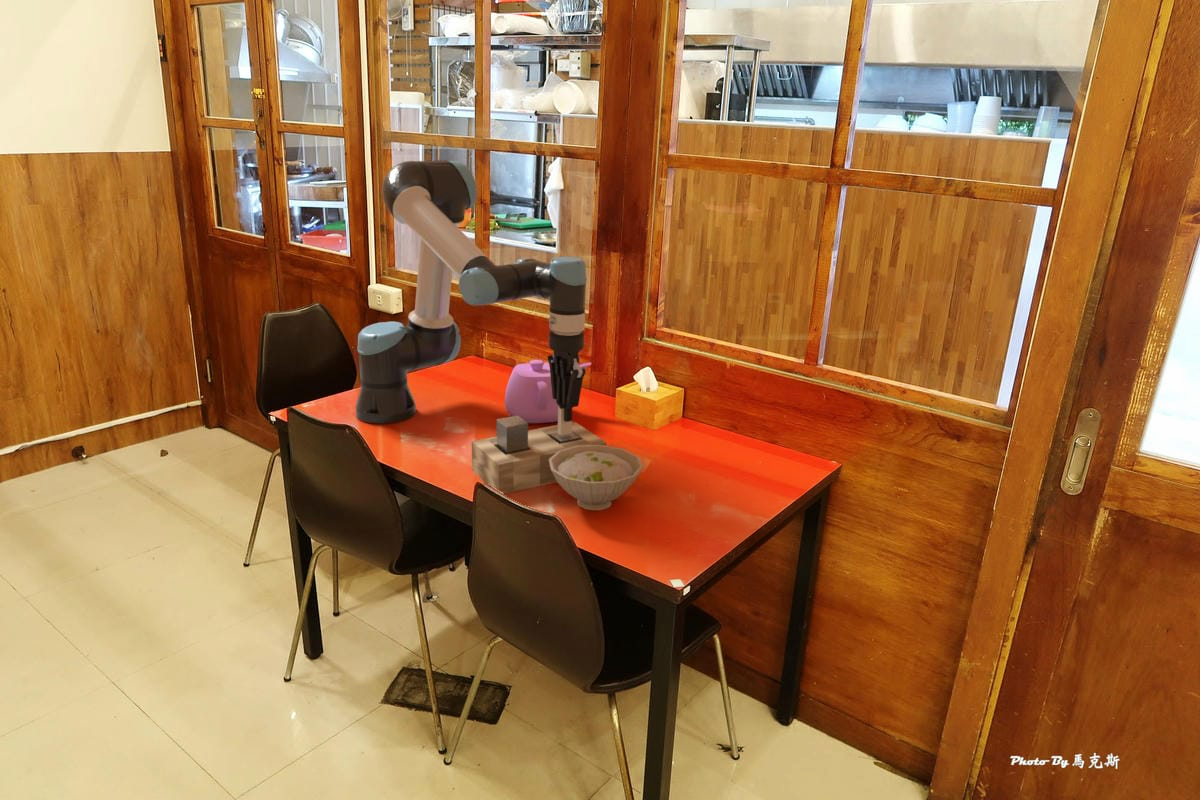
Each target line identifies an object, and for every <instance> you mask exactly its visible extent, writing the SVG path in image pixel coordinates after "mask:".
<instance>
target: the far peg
mask: <svg viewBox="0 0 1200 800" xmlns="http://www.w3.org/2000/svg"><path fill="white" fill-rule="evenodd" d="M550 437H551V438H552V439H553V440H555V441H556V442H558V443H559V444H562V443H567V442H571V441H576V440H580V437H579V436H577V435H576V434H574V433H573V432H572V433H570V434H565V435H560V434H558V432H557V433H552V434H550Z"/></svg>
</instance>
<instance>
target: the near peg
mask: <svg viewBox="0 0 1200 800" xmlns="http://www.w3.org/2000/svg"><path fill="white" fill-rule="evenodd" d="M528 431H529V423H527V422H526V421H524V420H523V419H522V418H520V417H519V416H512V417H511V416H508V417H501V418H497V419H496V437H497V448H498V449H500V450H501V451H502V452H503V453H504V454H506V455H507V454H512V453H517V452H522V451H527V450H528Z"/></svg>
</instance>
